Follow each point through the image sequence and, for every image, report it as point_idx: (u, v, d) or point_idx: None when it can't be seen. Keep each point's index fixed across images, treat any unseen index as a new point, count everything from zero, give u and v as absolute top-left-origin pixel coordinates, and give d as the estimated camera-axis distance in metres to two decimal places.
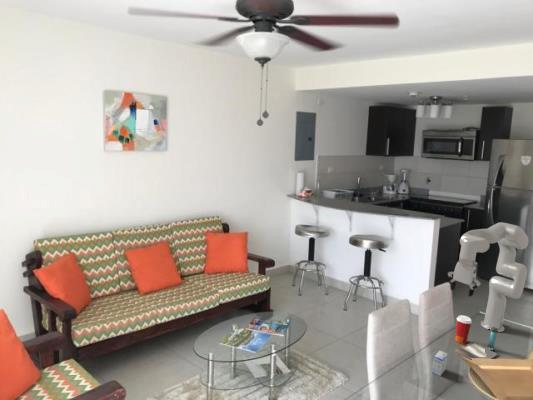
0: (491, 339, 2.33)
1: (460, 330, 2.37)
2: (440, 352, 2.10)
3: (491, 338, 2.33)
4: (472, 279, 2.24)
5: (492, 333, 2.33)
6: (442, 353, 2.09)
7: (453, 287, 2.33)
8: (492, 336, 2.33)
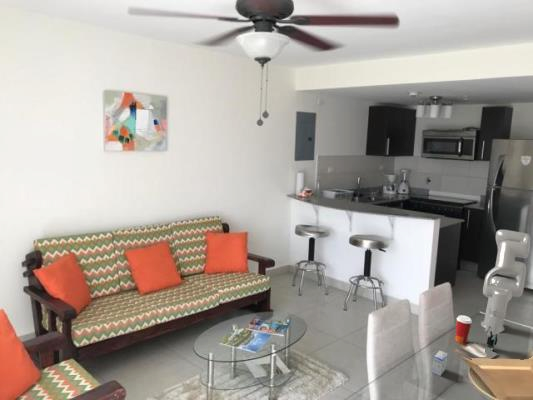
0: None
1: (460, 330, 2.37)
2: (440, 352, 2.10)
3: None
4: None
5: None
6: (442, 353, 2.09)
7: None
8: None
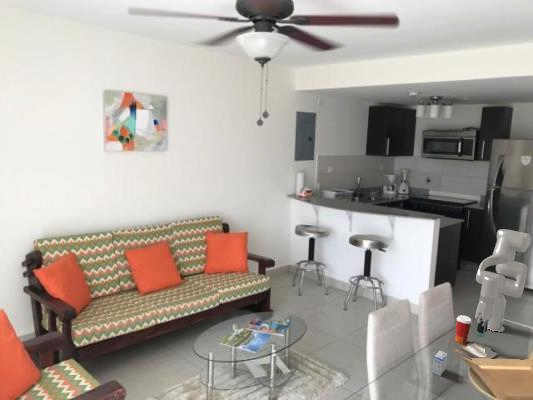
0: None
1: (460, 330, 2.37)
2: (440, 352, 2.10)
3: None
4: None
5: None
6: (442, 353, 2.09)
7: None
8: None
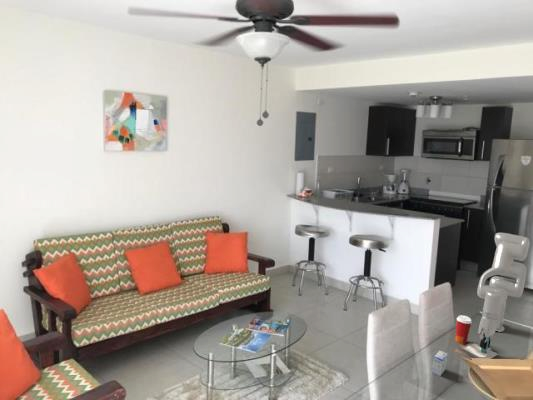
0: None
1: (460, 330, 2.37)
2: (440, 352, 2.10)
3: None
4: None
5: None
6: (442, 353, 2.09)
7: None
8: None
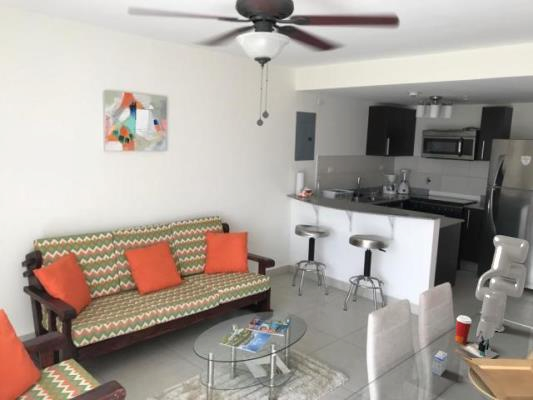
0: None
1: (460, 330, 2.37)
2: (440, 352, 2.10)
3: None
4: None
5: None
6: (442, 353, 2.09)
7: None
8: (483, 341, 2.23)
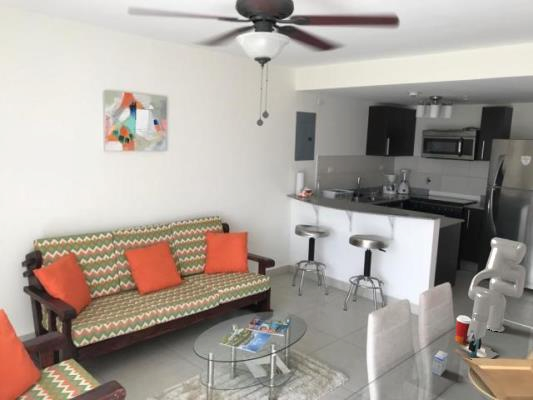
0: None
1: (460, 330, 2.37)
2: (440, 352, 2.10)
3: None
4: None
5: None
6: (442, 353, 2.09)
7: None
8: None
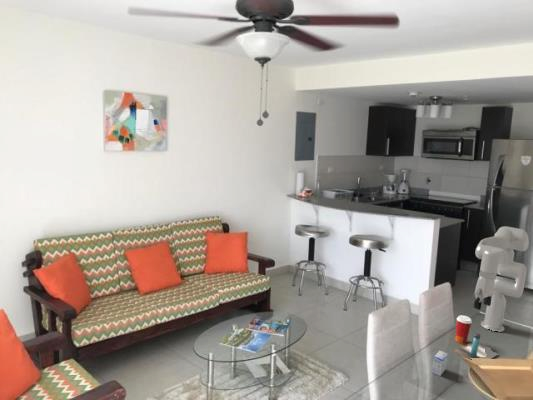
0: (474, 346, 2.22)
1: (460, 330, 2.37)
2: (440, 352, 2.10)
3: (474, 345, 2.22)
4: None
5: (475, 339, 2.22)
6: (442, 353, 2.09)
7: None
8: (475, 342, 2.22)
